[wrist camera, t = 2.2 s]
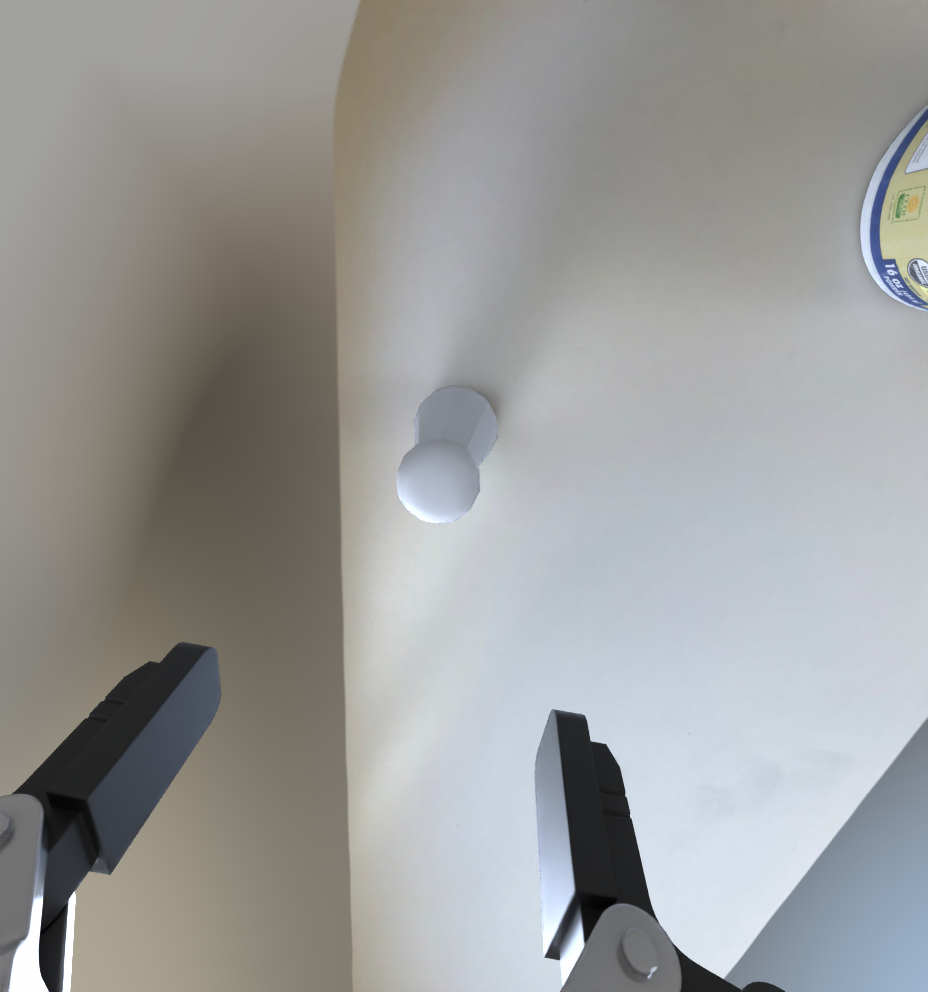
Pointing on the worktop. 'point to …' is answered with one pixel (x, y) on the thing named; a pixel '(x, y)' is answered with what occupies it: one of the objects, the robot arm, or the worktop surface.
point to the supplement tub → (900, 217)
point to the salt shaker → (446, 454)
